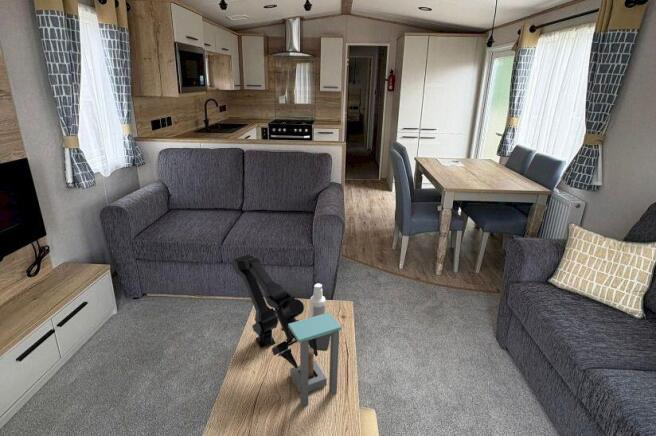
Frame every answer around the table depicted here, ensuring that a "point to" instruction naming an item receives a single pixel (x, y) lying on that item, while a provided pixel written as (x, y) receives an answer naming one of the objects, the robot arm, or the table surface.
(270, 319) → the robot arm
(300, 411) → the table surface
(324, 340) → the phone
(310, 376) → the peg
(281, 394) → the table surface
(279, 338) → the table surface
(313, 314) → the spray bottle
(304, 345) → the teal topped stool
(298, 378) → the socket
